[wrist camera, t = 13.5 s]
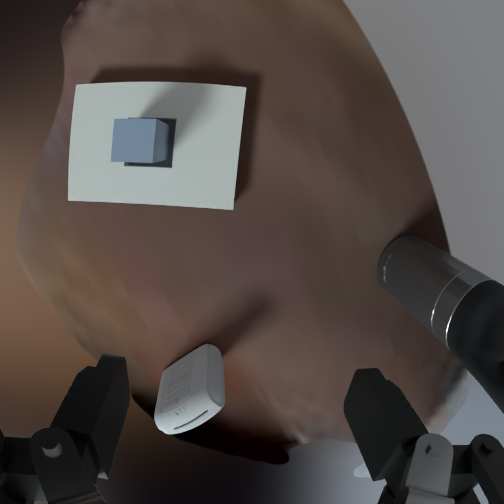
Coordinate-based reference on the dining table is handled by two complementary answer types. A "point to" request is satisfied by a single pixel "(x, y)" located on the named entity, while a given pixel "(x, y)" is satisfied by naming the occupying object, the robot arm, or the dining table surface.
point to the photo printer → (191, 390)
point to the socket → (179, 152)
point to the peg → (140, 140)
